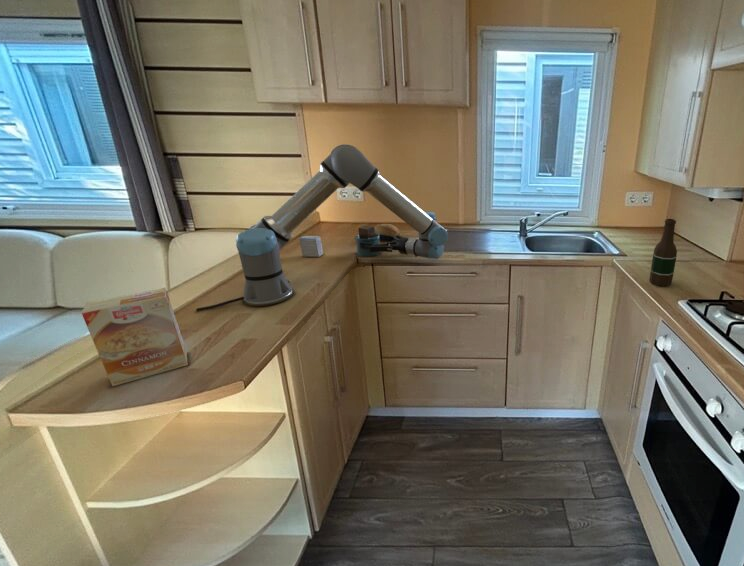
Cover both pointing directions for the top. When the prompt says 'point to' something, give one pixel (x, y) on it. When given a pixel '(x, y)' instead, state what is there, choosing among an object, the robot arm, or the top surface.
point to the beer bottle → (664, 257)
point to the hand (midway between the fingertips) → (370, 241)
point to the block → (366, 232)
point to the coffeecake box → (135, 335)
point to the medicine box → (311, 246)
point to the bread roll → (387, 230)
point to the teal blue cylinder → (371, 240)
